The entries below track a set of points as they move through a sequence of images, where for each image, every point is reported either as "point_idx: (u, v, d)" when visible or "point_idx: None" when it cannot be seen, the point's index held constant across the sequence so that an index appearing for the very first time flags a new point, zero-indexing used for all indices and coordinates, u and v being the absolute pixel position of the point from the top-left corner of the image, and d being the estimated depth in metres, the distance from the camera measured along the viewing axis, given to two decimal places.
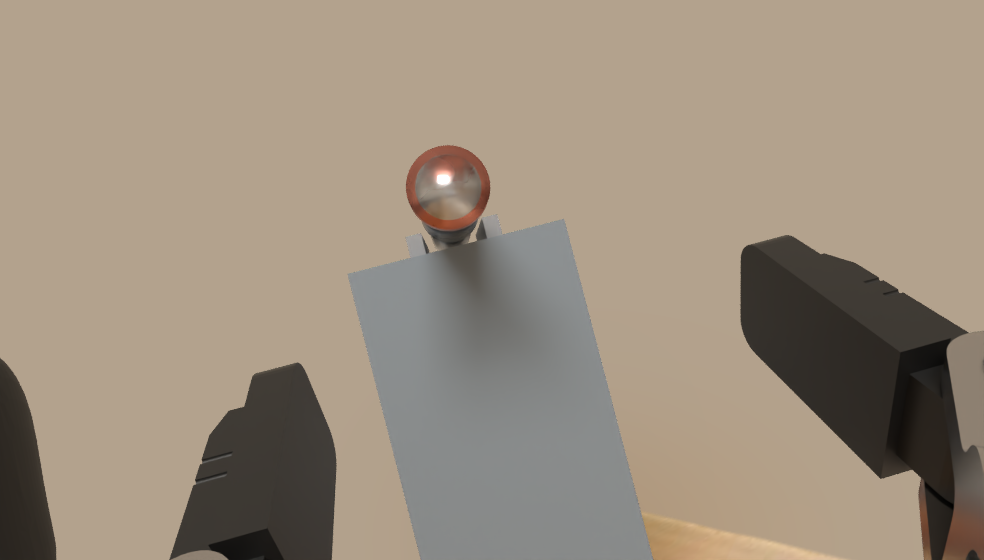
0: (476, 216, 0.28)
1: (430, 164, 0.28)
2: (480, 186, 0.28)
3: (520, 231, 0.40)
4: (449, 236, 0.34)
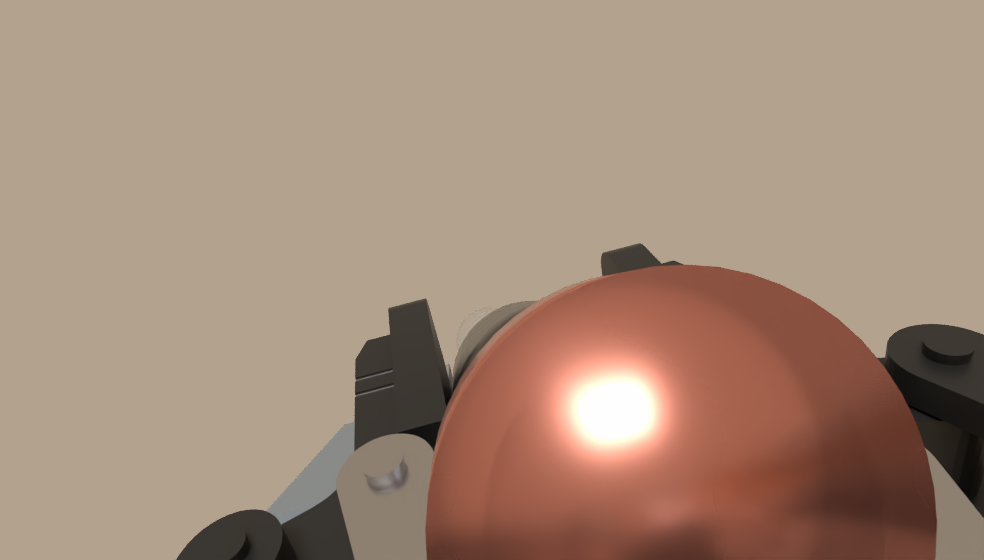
0: None
1: (576, 384, 0.05)
2: (879, 514, 0.05)
3: None
4: None
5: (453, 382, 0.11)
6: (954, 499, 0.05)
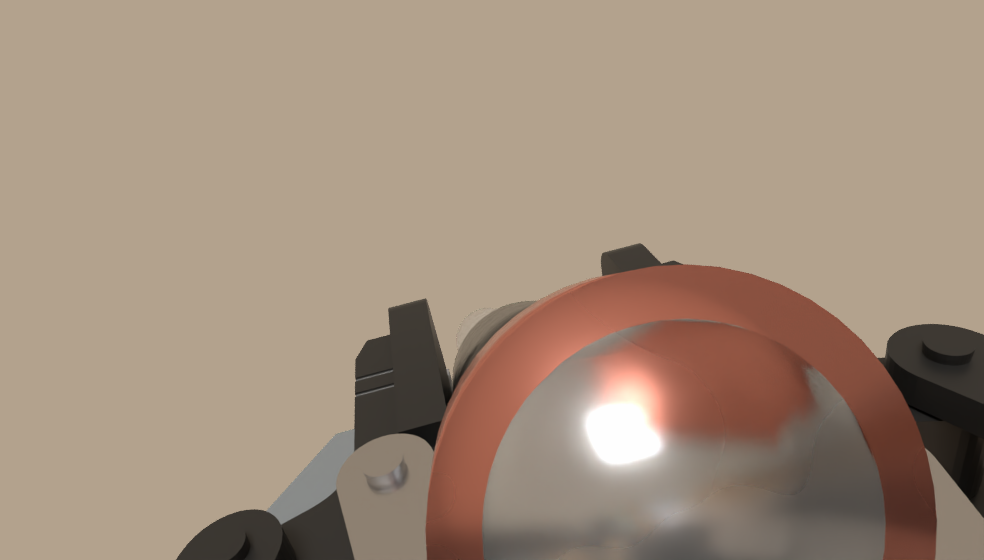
0: None
1: (576, 384, 0.05)
2: (879, 514, 0.05)
3: None
4: None
5: (453, 382, 0.11)
6: (954, 499, 0.05)
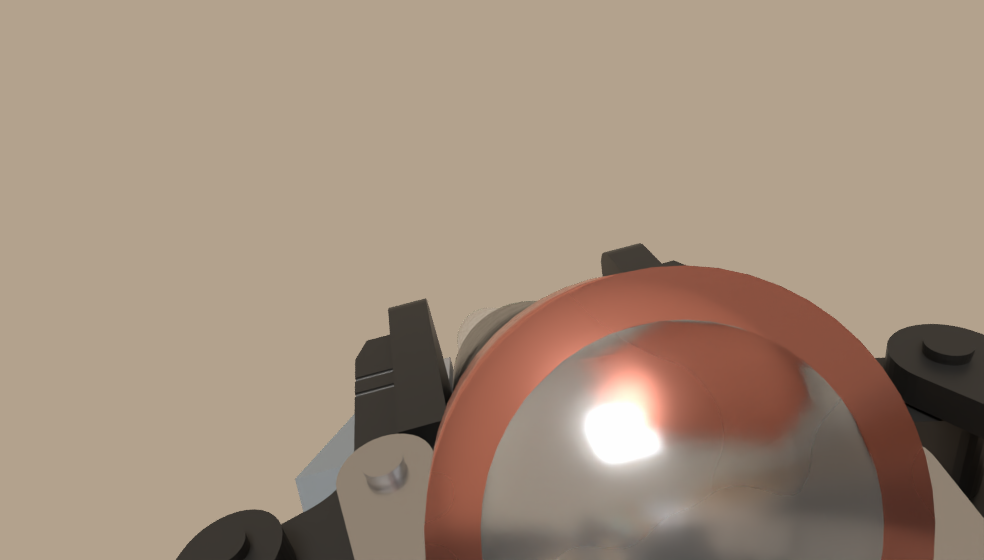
0: None
1: (575, 384, 0.05)
2: (877, 514, 0.05)
3: None
4: None
5: (453, 382, 0.11)
6: (954, 499, 0.05)
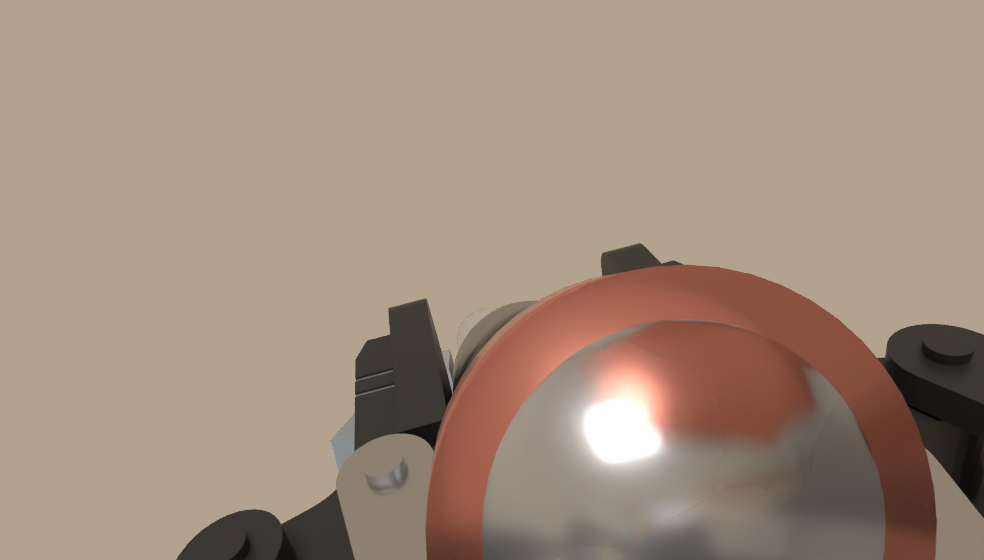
0: None
1: (576, 384, 0.05)
2: (878, 514, 0.05)
3: None
4: None
5: (453, 382, 0.11)
6: (954, 499, 0.05)
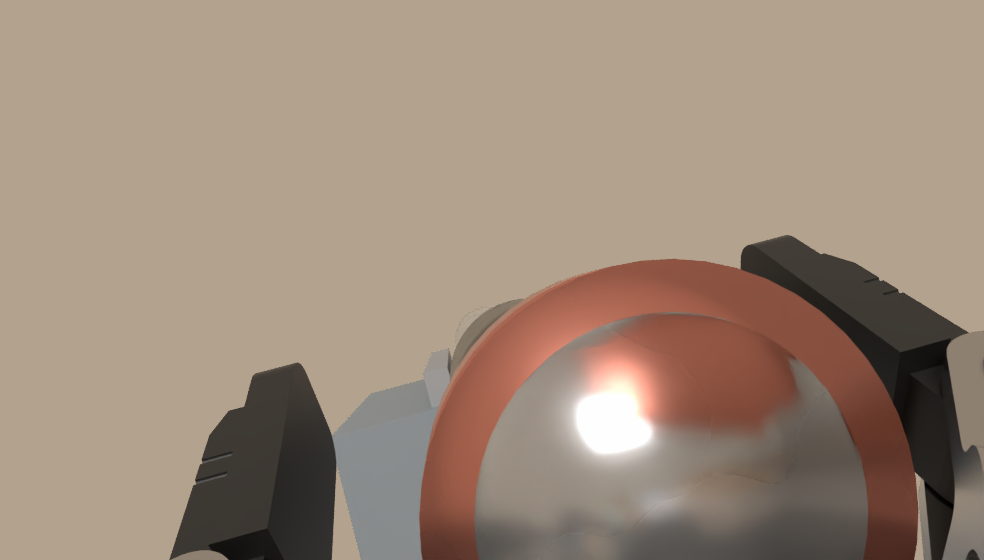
0: None
1: (566, 375, 0.05)
2: (861, 502, 0.05)
3: None
4: None
5: (450, 379, 0.12)
6: None
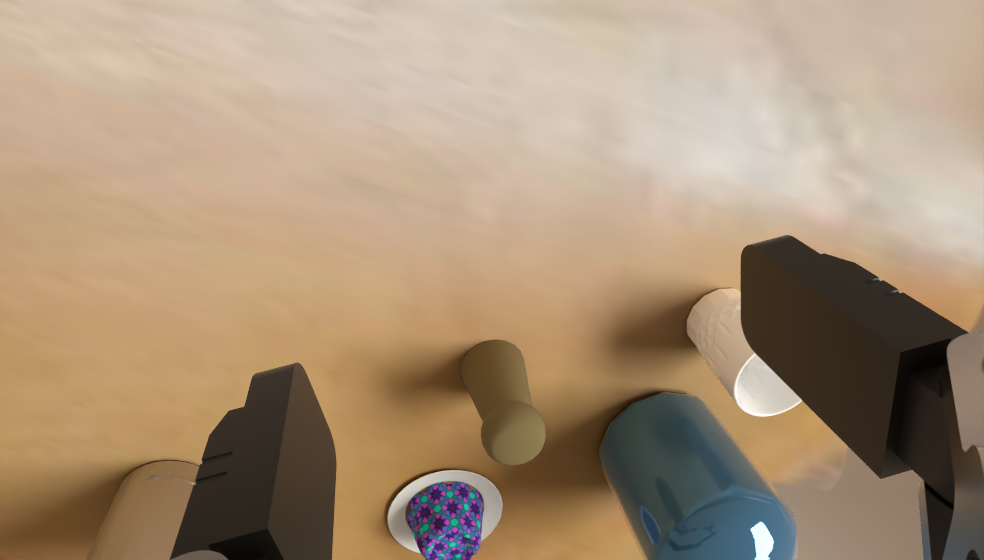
0: None
1: None
2: None
3: None
4: None
5: None
6: None
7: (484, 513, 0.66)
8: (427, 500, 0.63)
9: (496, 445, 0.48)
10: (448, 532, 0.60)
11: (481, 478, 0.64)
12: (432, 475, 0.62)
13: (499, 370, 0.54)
